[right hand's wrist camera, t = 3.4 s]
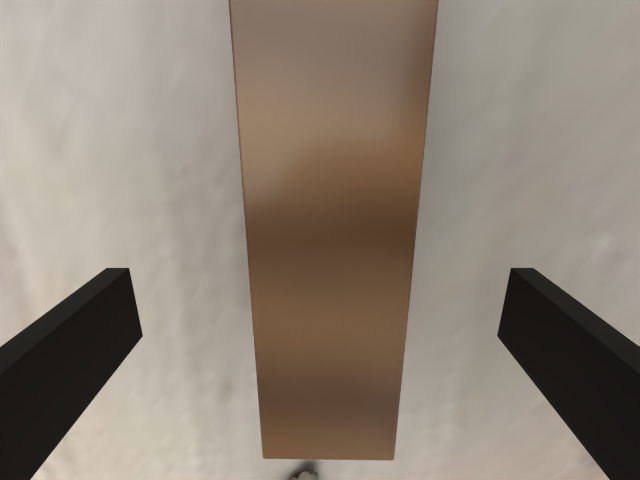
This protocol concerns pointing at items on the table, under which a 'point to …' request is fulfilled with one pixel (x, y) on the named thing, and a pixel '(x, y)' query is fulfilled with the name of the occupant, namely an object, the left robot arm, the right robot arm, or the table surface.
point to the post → (331, 211)
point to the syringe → (307, 476)
